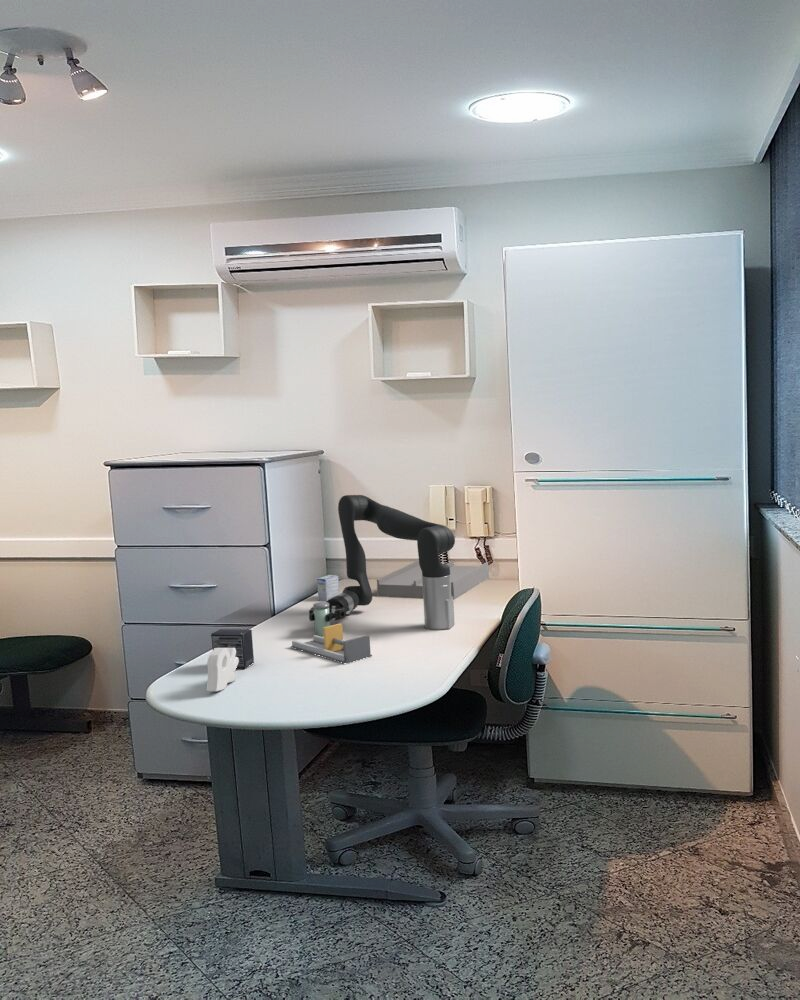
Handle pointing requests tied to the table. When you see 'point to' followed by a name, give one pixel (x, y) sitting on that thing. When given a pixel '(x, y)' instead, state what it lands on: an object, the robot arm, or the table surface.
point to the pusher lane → (350, 653)
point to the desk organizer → (411, 584)
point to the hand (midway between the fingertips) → (318, 618)
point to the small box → (236, 644)
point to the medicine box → (327, 587)
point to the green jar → (320, 617)
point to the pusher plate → (333, 637)
